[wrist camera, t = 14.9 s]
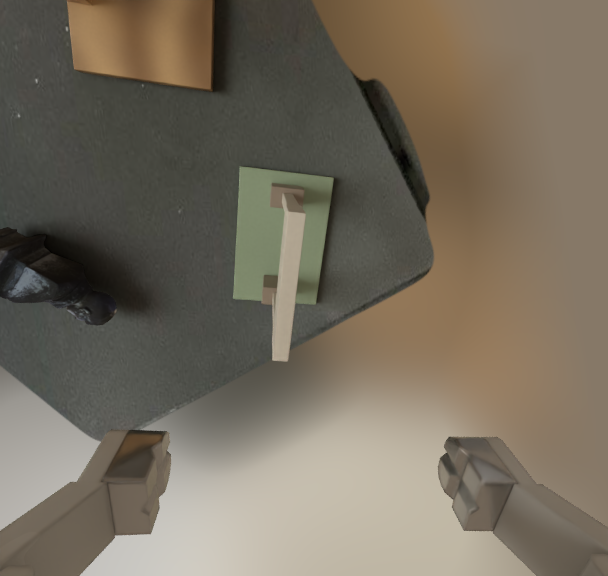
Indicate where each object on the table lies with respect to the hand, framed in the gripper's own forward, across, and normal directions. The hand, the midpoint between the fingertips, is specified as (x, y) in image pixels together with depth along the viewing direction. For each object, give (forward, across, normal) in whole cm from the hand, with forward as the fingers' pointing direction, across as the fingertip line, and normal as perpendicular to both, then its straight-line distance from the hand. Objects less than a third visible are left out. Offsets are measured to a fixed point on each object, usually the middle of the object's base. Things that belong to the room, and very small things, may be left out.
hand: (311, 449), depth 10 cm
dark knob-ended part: (+31, +24, +7) cm, 40 cm away
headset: (+31, 0, +1) cm, 31 cm away
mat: (+31, 0, +1) cm, 31 cm away
